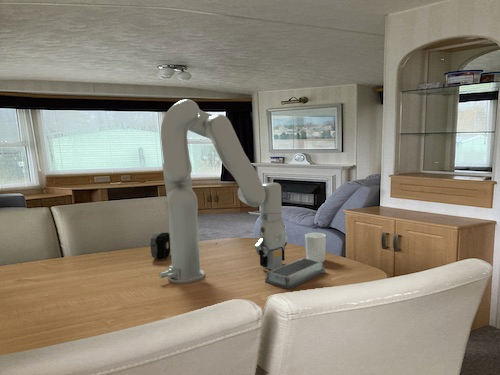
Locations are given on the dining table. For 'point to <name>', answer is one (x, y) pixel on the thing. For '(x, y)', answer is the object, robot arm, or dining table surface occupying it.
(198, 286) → the dining table surface
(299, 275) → the rail
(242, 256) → the dining table surface
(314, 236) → the white cup
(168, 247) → the cpu cooler
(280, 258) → the block
